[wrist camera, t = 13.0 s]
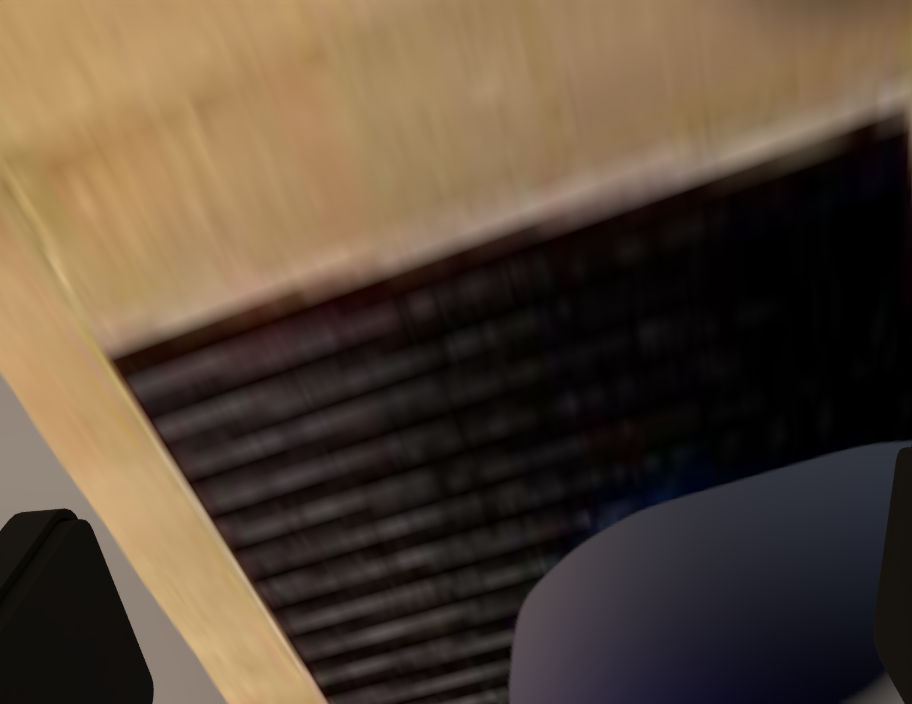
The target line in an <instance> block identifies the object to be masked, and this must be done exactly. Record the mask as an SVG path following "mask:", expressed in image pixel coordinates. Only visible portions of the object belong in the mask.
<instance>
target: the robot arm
mask: <svg viewBox="0 0 912 704" xmlns="http://www.w3.org/2000/svg"><path fill="white" fill-rule="evenodd" d="M873 625H874V626H873V634H874V641H875V645H876V649H877V652H878V655H879V657H880V659H881V661H882V663H883V665H884V667H885V669H886V671H887V673H888V674H889V676H890V678H891V680H892V682H893V683H894V685H895V687H896V689H897V691H898V692H899V694H900V696H901V698H902V699H903V701H904V703H905V704H912V446H911V447H907V448H903V449H901V450H900V451H899V453H898V455H897V459H896V466H895V473H894V480H893V487H892V494H891V501H890V509H889V516H888V524H887V530H886V537H885V545H884V552H883V559H882V566H881V574H880V581H879V588H878V595H877V603H876V610H875V617H874V624H873ZM153 693H154V688H153V681H152V677H151V674H150V672H149V669H148V667H147V664H146V662H145V659H144V657H143V654H142V652H141V649H140V647H139V644H138V642H137V639H136V637H135V634H134V632H133V629H132V627H131V624H130V621H129V619H128V616H127V614H126V611H125V609H124V606H123V604H122V601H121V599H120V596H119V594H118V591H117V589H116V586H115V584H114V581H113V579H112V576H111V574H110V571H109V569H108V566H107V564H106V561H105V559H104V557H103V554H102V551H101V549H100V546H99V544H98V542H97V539H96V536H95V534H94V531H93V529H92V527H91V525H90V524H89V523H88V522H87V521H86V520H82V519H79V520H78V518H77V516H76V515H75V514H74V513H73V512H72V511H71V510H68V509H54V510H42V511H30V512H21V513H18V514H15V515H14V516H13V517H12V518H11V519H10V520H9V521H8V522H7V523H6V524H5V526H4V527H3V528H2V530H1V531H0V704H152V702H153Z"/></svg>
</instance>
